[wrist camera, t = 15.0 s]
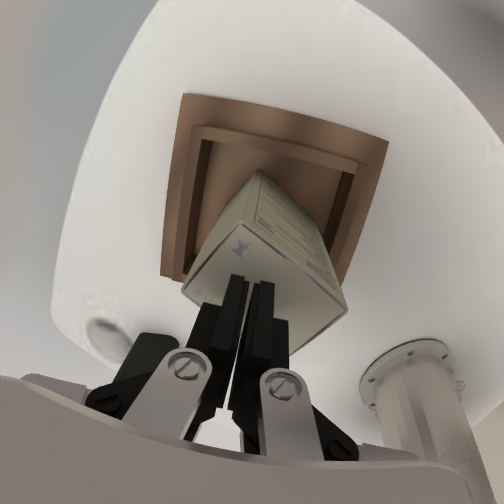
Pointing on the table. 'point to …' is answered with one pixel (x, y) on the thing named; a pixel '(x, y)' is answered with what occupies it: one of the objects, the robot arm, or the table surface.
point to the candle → (146, 355)
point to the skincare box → (270, 260)
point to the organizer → (272, 165)
